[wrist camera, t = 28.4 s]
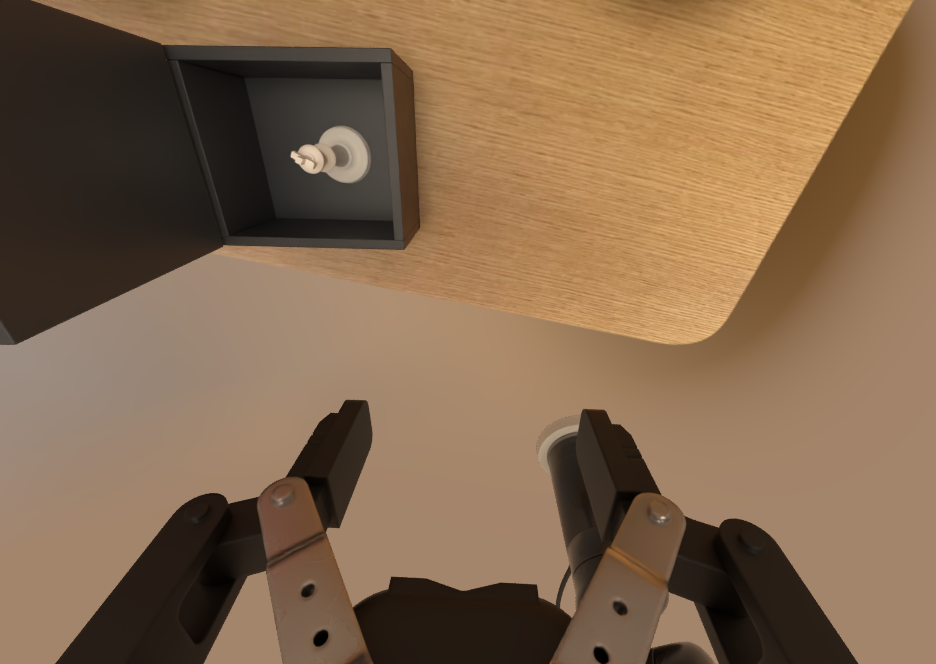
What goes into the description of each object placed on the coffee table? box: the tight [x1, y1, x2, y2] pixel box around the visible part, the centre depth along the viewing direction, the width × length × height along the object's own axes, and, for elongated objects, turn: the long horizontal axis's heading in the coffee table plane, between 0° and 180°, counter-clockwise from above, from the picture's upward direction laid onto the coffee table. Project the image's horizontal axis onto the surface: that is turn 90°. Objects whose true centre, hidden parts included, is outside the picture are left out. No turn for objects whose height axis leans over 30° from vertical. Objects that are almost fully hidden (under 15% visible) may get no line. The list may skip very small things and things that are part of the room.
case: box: [162, 45, 420, 250], centre depth 31 cm, size 16×14×9 cm
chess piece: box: [291, 126, 371, 183], centre depth 30 cm, size 5×5×10 cm
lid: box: [0, 0, 223, 345], centre depth 20 cm, size 16×14×5 cm
